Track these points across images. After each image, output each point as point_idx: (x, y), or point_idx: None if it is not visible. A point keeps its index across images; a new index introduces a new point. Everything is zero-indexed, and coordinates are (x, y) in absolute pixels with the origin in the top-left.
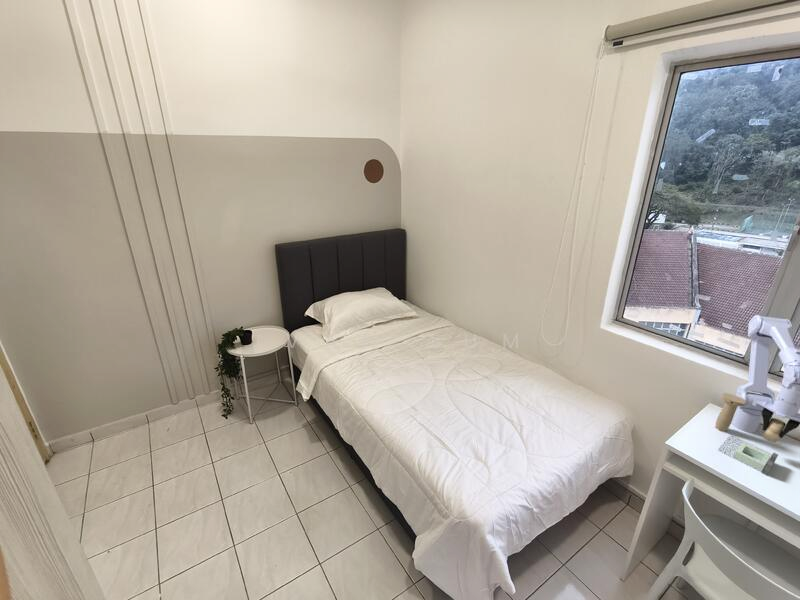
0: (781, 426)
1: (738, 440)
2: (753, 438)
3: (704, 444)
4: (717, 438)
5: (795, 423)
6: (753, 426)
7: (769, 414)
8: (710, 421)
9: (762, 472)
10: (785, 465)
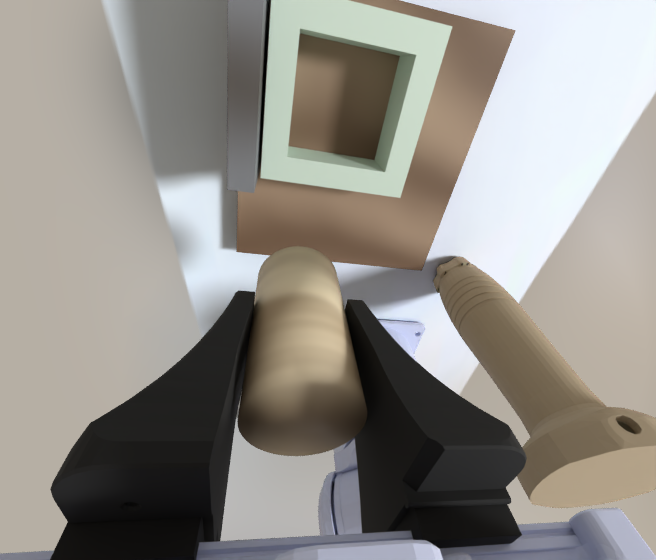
0: (265, 376)
1: (391, 246)
2: None
3: (553, 73)
4: (470, 201)
5: (112, 511)
6: None
7: (442, 469)
8: None
9: None
10: (199, 221)
